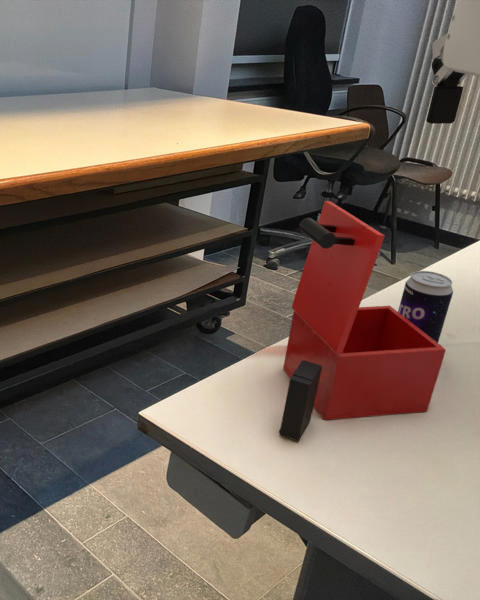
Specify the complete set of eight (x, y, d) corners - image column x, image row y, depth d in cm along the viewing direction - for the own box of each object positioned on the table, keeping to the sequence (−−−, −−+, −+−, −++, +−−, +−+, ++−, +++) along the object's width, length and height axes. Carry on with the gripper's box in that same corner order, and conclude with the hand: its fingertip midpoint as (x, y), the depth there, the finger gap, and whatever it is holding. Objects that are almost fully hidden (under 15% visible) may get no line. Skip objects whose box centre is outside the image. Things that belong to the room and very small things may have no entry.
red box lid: (330, 201, 80) (292, 197, 79) (385, 235, 70) (341, 231, 68) (296, 307, 86) (260, 305, 84) (342, 353, 75) (302, 351, 74)
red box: (375, 362, 92) (389, 305, 88) (427, 411, 82) (446, 349, 78) (282, 369, 89) (293, 310, 86) (324, 420, 79) (338, 356, 76)
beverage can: (390, 343, 96) (410, 266, 91) (434, 354, 94) (457, 275, 89) (384, 360, 92) (405, 280, 87) (429, 372, 90) (453, 291, 84)
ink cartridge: (291, 415, 80) (302, 357, 77) (310, 421, 79) (323, 363, 76) (277, 436, 76) (289, 376, 73) (297, 443, 75) (310, 383, 72)
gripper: (632, -48, 58) (563, 151, 65) (490, -45, 73) (448, 116, 81) (555, -50, 56) (494, 153, 64) (427, -47, 72) (390, 116, 79)
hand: (468, 132), depth 72 cm, fingers open, 9 cm apart
